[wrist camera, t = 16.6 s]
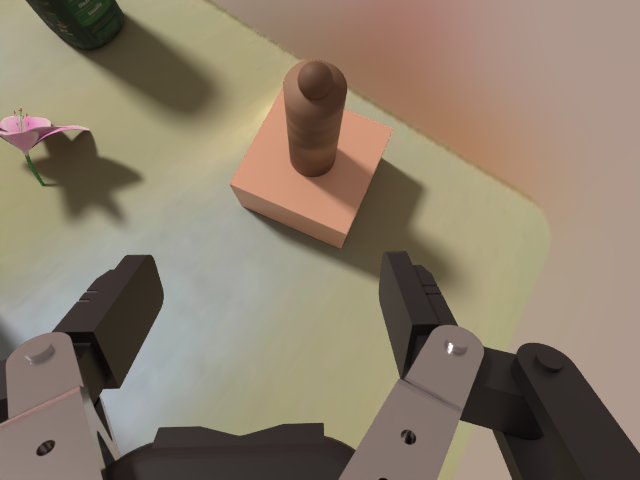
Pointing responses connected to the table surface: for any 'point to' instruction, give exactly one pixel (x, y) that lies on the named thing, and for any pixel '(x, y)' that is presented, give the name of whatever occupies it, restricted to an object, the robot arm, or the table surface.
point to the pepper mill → (314, 115)
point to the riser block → (310, 192)
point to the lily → (29, 133)
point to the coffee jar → (81, 20)
